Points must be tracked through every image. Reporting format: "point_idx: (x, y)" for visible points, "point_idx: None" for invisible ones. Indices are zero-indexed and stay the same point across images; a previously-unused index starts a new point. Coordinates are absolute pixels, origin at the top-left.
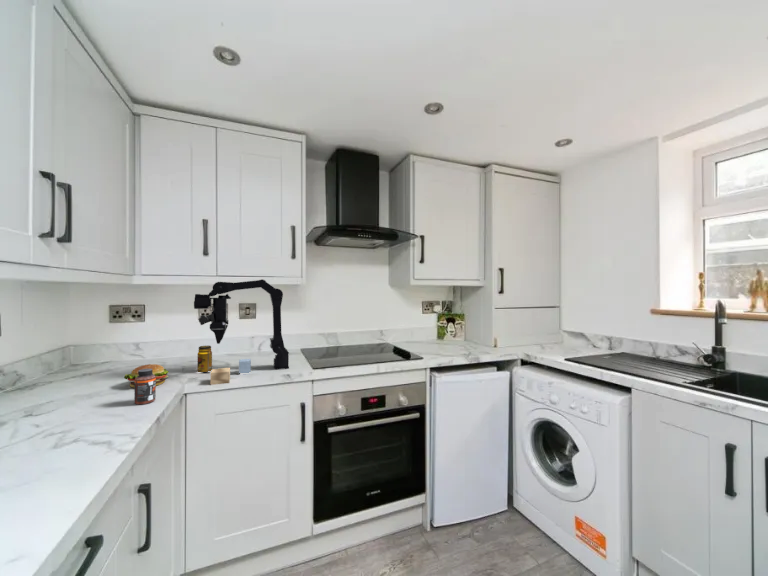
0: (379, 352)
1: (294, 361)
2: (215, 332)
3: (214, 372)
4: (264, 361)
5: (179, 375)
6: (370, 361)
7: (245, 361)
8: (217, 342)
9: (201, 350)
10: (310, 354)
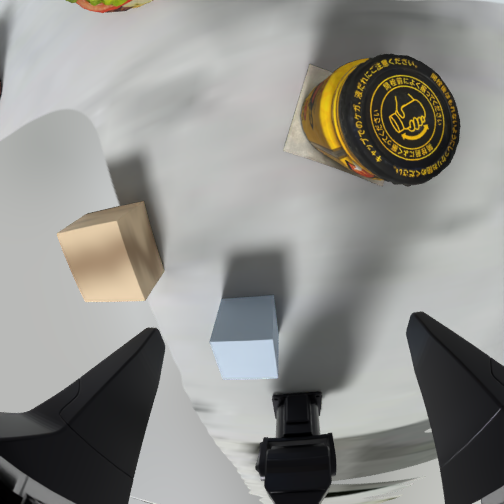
0: (353, 485)
1: (365, 419)
2: (38, 427)
3: (66, 246)
4: None
5: (272, 11)
6: None
7: (217, 363)
8: (141, 340)
9: (340, 89)
10: (421, 428)
